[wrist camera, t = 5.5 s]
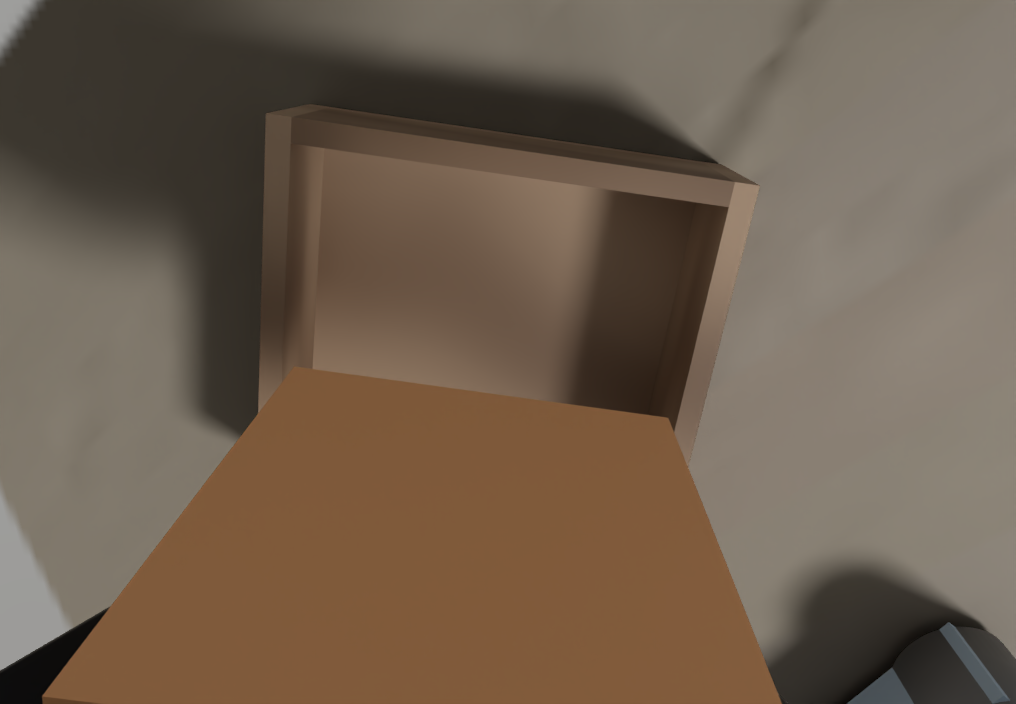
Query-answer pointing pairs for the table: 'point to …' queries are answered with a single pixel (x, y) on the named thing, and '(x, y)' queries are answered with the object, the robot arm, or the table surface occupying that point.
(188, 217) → the table surface
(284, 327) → the tray
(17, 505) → the table surface
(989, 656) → the crank
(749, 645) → the block
